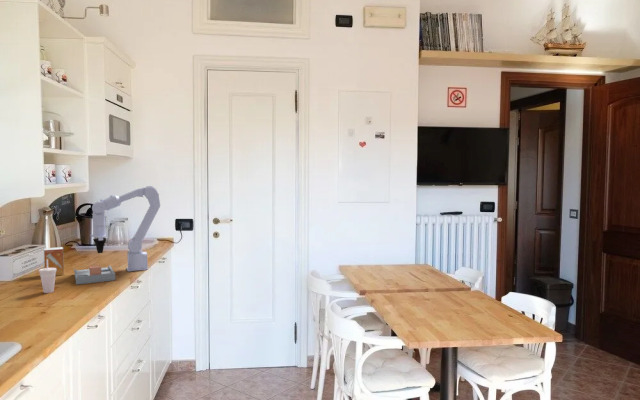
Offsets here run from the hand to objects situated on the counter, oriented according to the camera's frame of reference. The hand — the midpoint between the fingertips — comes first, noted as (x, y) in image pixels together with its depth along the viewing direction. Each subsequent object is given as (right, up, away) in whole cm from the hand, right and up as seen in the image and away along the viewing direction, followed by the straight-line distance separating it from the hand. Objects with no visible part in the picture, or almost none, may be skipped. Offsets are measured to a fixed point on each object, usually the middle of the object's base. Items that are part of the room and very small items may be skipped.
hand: (100, 252), depth 221 cm
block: (+6, -9, -16) cm, 19 cm away
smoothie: (-4, -13, -35) cm, 37 cm away
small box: (-20, -10, -4) cm, 23 cm away
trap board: (+2, -11, -10) cm, 15 cm away
